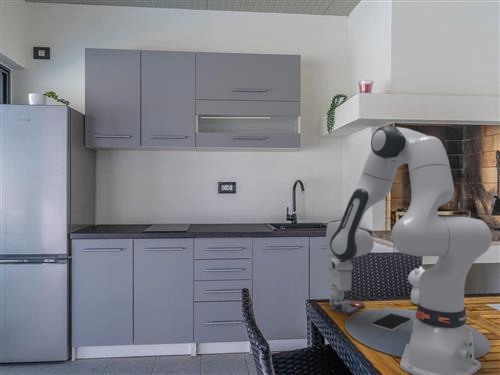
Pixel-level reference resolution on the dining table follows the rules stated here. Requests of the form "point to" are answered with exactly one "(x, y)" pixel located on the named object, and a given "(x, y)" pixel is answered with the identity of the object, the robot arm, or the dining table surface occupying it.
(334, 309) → the bayonet base
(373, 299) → the dining table surface
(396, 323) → the smartphone
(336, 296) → the cap
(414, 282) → the cat figurine
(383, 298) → the dining table surface
